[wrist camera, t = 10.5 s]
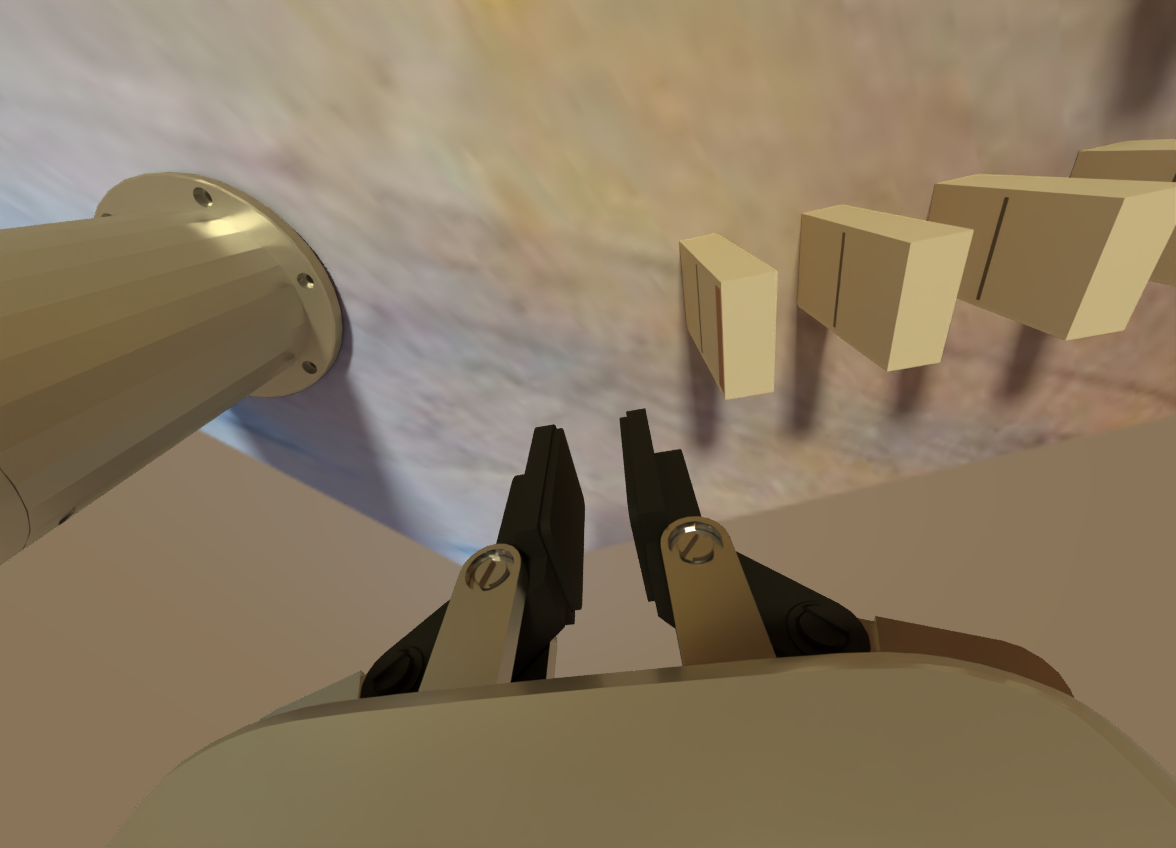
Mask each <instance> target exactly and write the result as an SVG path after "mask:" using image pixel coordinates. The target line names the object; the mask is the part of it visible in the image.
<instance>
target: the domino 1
mask: <svg viewBox="0 0 1176 848" xmlns="http://www.w3.org/2000/svg"><path fill="white" fill-rule="evenodd" d="M679 244H680V255H681V267H682V279H683V291H684V302H685V314H686V326H687V329H688V331H689V333H690V335H691V337H692V339H693V340H694V342H695V344H696V346H697V348H698V350H699V352H700V353H701V355H702V357H703V359H704V361H705V363H706V365H707V367H708V368H709V370H710V372H711V374H712V376H713V378H714V380H715V381H716V383H717V385H718V387H719V389H720V391H721V393H722V394H723V396H724V398H725V400H727V399H733V398H739V397H745V396H751V395H757V394H763V393H769V392H774V365H775V336H776V306H777V276H778V271H777V270H775V269H773V268H772V267H770V266H769V265H767V264H765V263H764V262H762V261H761V260H759V259H757V258H756V257H754V256H753V255H751V254H749V253H748V252H746V251H745V250H743V249H741V248H740V247H738V246H737V245H735V244H733V243H732V242H730V241H729V240H727V239H725V238H724V237H722V236H721V235H719V234H717V233H714V234H709V235H705V236H700V237H696V238H691V239H686V240H682V241H679Z"/></svg>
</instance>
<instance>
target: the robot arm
mask: <svg viewBox="0 0 1176 848" xmlns="http://www.w3.org/2000/svg"><path fill="white" fill-rule="evenodd" d="M342 331H343V328H342V318H341V310H340V306H339V303H338V300H337V296H336V293H335V290H334V288H333V286H332V284H331V282H330V280H329V278H328V275H327V273H326V271H325V269H324V268H323V266H322V265H321V263H320V262H319V260H318V259H317V257H316V256H315V254H314V253H313V252H312V250H311V249H310V247H309V246H308V245H307V244H306V243H305V242H304V241H303V239H302V238H301V237H300V236H299V235H298V234H297V233H296V232H295V231H294V229H293V228H292V227H291V226H290V225H288V224H287V223H286V222H285V221H284V220H283V219H281V218H280V217H279V216H278V215H277V214H276V213H274V212H273V211H272V210H271V209H270V208H268V207H267V206H265V205H263V204H262V203H260V202H259V201H257V200H256V199H254V198H253V197H251V196H250V195H248V194H247V193H245V192H243V191H240V190H238V189H236V188H234V187H232V186H230V185H227V184H225V183H223V182H221V181H218V180H214V179H210V178H207V177H203V176H200V175H196V174H187V173H175V172H165V173H149V174H142V175H139V176H135V177H132V178H128V179H125V180H123V181H122V182H120V183H119V184H117V185H116V186H115V187H113V188H112V189H110V190H109V191H108V192H107V193H106V195H105V196H104V197H103V199H102V200H101V202H100V203H99V204H98V206H97V209H96V212H95V215H94V218H91V219H83V220H75V221H66V222H58V223H50V224H42V225H33V226H25V227H17V228H9V229H0V565H2V564H3V563H4V562H6V561H7V560H9V559H10V558H12V557H13V556H15V555H16V554H18V553H19V552H21V551H22V550H23V549H25V548H26V547H28V546H29V545H31V544H32V543H34V542H35V541H37V540H38V539H40V538H41V537H43V536H44V535H45V534H47V533H48V532H50V531H51V530H53V529H54V528H56V527H57V526H59V525H60V524H62V523H63V522H65V521H66V520H67V519H69V518H70V517H72V516H73V515H75V514H76V513H78V512H79V511H81V510H82V509H83V508H85V507H86V506H88V505H89V504H91V503H92V502H94V501H95V500H97V499H98V498H99V497H101V496H102V495H104V494H105V493H107V492H108V491H110V490H111V489H113V488H114V487H115V486H117V485H118V484H120V483H121V482H123V481H124V480H126V479H127V478H128V477H130V476H132V475H133V474H134V473H136V472H137V471H139V470H140V469H142V468H143V467H145V466H146V465H147V464H149V463H150V462H152V461H153V460H155V459H156V458H158V457H159V456H161V455H162V454H164V453H165V452H166V451H168V450H169V449H171V448H172V447H174V446H175V445H176V444H178V443H180V442H181V441H183V440H184V439H185V438H187V437H188V436H190V435H191V434H193V433H194V432H196V431H197V430H199V429H200V428H201V427H203V426H204V425H206V424H207V423H209V422H210V421H212V420H213V419H215V418H216V417H217V416H219V415H220V414H222V413H223V412H225V411H226V410H228V409H229V408H231V407H232V406H234V405H235V404H236V403H238V402H239V401H241V400H242V399H244V398H245V397H247V396H251V397H265V398H271V397H281V396H287V395H291V394H294V393H297V392H300V391H302V390H304V389H306V388H307V387H309V386H311V385H312V384H314V383H315V382H316V381H318V380H319V379H320V378H321V377H322V376H323V375H325V374H326V373H327V372H328V370H329V369H330V367H331V366H332V365H333V363H334V362H335V360H336V358H337V355H338V352H339V350H340V347H341V340H342ZM626 414H627V417H622V418H620V428H621V439H622V449H623V460H624V471H625V481H626V492H627V503H628V511H629V518H630V523H631V528H632V532H633V537H634V541H635V546H636V550H637V554H638V559H639V563H640V568H641V572H642V576H643V581H644V585H645V590H646V594H647V599H648V601H649V602H650V601H655V603H656V607H657V612H658V616H659V617H660V618H662V619H663V620H664V621H665V622H667V623H668V624H670V625H671V626H672V627H674V628H675V629H676V634H677V640H678V644H679V650H680V655H681V660H682V666H680V667H669V668H658V669H647V670H636V671H625V672H615V673H605V674H594V675H584V676H573V677H564V678H554V674H555V664H556V652H557V637H556V635H557V634H558V633H559V632H560V631H561V630H562V629H563V628H564V627H565V625H570V624H574V623H575V610H580V609H581V608H582V592H583V557H584V523H585V503H584V498H583V494H582V491H581V487H580V484H579V480H578V477H577V474H576V470H575V467H574V464H573V460H572V457H571V453H570V450H569V447H568V443H567V440H566V437H565V433H564V430H563V429H562V428H559V429H557V428H556V426H555V425H554V424H553V425H548V426H542V427H536V428H535V430H534V434H533V439H532V443H531V448H530V452H529V457H528V461H527V465H526V470H525V474H523V475H517V476H515V477H514V478H513V481H512V484H511V488H510V492H509V496H508V500H507V504H506V508H505V512H504V515H503V519H502V523H501V527H500V531H499V535H498V539H497V543H496V544H494V545H490V546H487V547H485V548H483V549H481V550H479V551H477V552H476V553H475V554H473V555H472V556H471V557H470V558H469V559H468V560H467V561H466V562H465V564H464V565H463V567H462V569H461V571H460V573H459V576H458V579H457V582H456V585H455V587H454V590H453V593H452V596H451V599H450V600H449V601H447V602H446V603H445V604H444V605H442V606H441V607H440V608H439V609H438V610H436V611H435V612H434V613H433V614H432V615H430V616H429V617H428V618H427V619H425V620H424V621H423V622H422V623H421V624H419V625H418V626H417V627H416V628H415V629H413V631H411V632H410V633H409V634H407V635H406V636H405V637H404V638H402V639H401V640H400V641H399V642H398V643H396V644H395V645H394V646H393V647H391V648H390V649H389V650H388V651H387V652H385V653H384V654H383V655H382V656H381V657H380V658H379V659H378V660H377V661H376V662H375V663H374V665H373V666H372V668H371V669H370V670H369V672H368V673H367V674H364V673H363V672H362V671H359V672H356V673H354V674H352V675H350V676H348V677H346V678H343V679H341V680H339V681H337V682H335V683H332V684H330V685H328V686H326V687H324V688H322V689H319V690H317V691H315V692H313V693H311V694H309V695H306V696H304V697H302V698H300V699H298V700H296V701H293V702H291V703H289V704H287V705H285V706H282V707H280V708H278V709H276V710H274V711H272V712H271V713H269V714H267V715H266V716H264V717H263V718H261V719H260V720H259V721H257V722H255V723H252V724H249V725H247V726H244V727H242V728H241V729H238V730H236V731H234V732H232V733H230V734H228V735H226V736H224V737H222V738H220V739H218V740H216V741H214V742H212V743H210V744H209V745H207V746H205V747H204V748H202V749H200V750H199V751H197V752H195V753H194V754H193V755H191V756H190V757H188V758H187V759H185V760H184V761H182V762H181V763H180V764H178V765H177V766H176V767H175V768H174V769H172V770H171V771H170V772H169V773H167V774H166V775H165V776H164V777H163V778H162V779H161V780H160V781H159V782H158V783H157V784H156V785H155V786H154V787H153V788H152V789H151V790H150V791H149V793H148V794H147V795H146V796H145V797H144V798H143V800H142V801H141V802H140V803H139V804H138V806H136V807H135V809H134V810H133V811H132V812H131V814H130V815H129V816H128V817H127V819H126V820H125V821H124V822H123V823H122V825H121V826H120V827H119V829H118V830H117V831H116V833H115V834H114V835H113V836H112V838H111V839H110V840H109V842H108V843H107V844H106V845H105V847H104V848H1176V777H1175V776H1174V775H1173V774H1172V773H1170V771H1168V770H1167V769H1166V768H1165V767H1164V766H1163V765H1162V764H1161V763H1160V762H1158V761H1157V760H1156V759H1155V758H1154V757H1153V756H1152V755H1151V754H1150V753H1149V752H1147V751H1146V750H1145V749H1144V748H1143V747H1142V746H1140V745H1139V744H1138V743H1137V742H1136V741H1134V740H1133V739H1132V738H1131V737H1130V736H1128V735H1127V734H1126V733H1125V732H1123V731H1122V730H1121V729H1120V728H1119V727H1117V726H1116V725H1115V724H1113V723H1112V722H1111V721H1109V720H1108V719H1106V718H1105V717H1103V716H1102V715H1100V714H1099V713H1098V712H1096V711H1094V710H1093V709H1092V708H1090V707H1089V706H1087V705H1085V704H1084V703H1082V702H1080V701H1078V700H1077V699H1075V698H1074V696H1073V694H1072V692H1071V689H1070V688H1069V687H1068V685H1067V684H1066V683H1065V681H1064V679H1063V678H1062V677H1061V675H1060V674H1059V672H1057V671H1056V670H1055V669H1054V668H1053V667H1052V666H1050V665H1049V664H1048V663H1047V662H1046V661H1045V660H1043V659H1042V658H1040V657H1039V656H1037V655H1035V654H1033V653H1032V652H1030V651H1028V650H1026V649H1025V648H1023V647H1021V646H1017V645H1014V644H1011V643H1008V642H1005V641H1002V640H996V639H991V638H986V637H981V636H976V635H971V634H966V633H960V632H955V631H950V630H945V629H940V628H934V627H929V626H925V625H919V624H914V623H909V622H904V621H898V620H894V619H888V618H883V617H878V616H875V619H874V621H870V620H865V619H860V618H857V617H856V616H855V615H854V614H853V613H852V612H851V611H849V610H848V609H846V608H845V607H843V606H842V605H840V604H839V603H837V602H835V601H833V600H831V599H829V598H827V597H825V596H823V595H821V594H819V593H817V592H815V591H813V590H811V589H809V588H807V587H805V586H803V585H801V584H799V583H797V582H795V581H793V580H792V579H790V578H788V577H786V576H784V575H782V574H780V573H778V572H776V571H774V570H772V569H770V568H768V567H766V566H764V565H762V564H760V563H758V562H756V561H754V560H752V559H750V558H748V557H746V556H744V555H742V554H740V553H738V552H736V551H735V548H734V546H733V544H732V541H731V538H730V536H729V534H728V532H727V531H726V529H725V528H724V527H723V526H721V525H720V524H719V523H718V522H716V521H713V520H711V519H709V518H705V517H701V514H700V510H699V507H698V504H697V500H696V497H695V494H694V490H693V487H692V483H691V480H690V477H689V473H688V470H687V467H686V463H685V460H684V456H683V453H682V450H681V449H677V450H671V451H665V452H659V453H654V450H653V445H652V440H651V435H650V430H649V425H648V420H647V415H646V410H645V408H644V409H638V410H633V411H627V412H626Z"/></svg>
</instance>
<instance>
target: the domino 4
mask: <svg viewBox="0 0 1176 848" xmlns="http://www.w3.org/2000/svg"><path fill="white" fill-rule="evenodd" d="M1070 178H1088V179H1111V180H1134V181H1158V182H1176V139H1162V140H1131V141H1122V142H1118V143H1113V144H1109V145H1104V146H1100V147H1095V148H1091V149H1087V150H1082V151H1079V153H1078V156H1077V159H1076V162H1075V165H1074V168H1073V171H1072V173H1071V176H1070ZM1148 281H1152V282H1157V283H1161V284H1166V285H1170V286H1175V287H1176V225H1175V227H1174V229H1173V231H1172V234H1171V236H1170V238H1169V240H1168V242H1167V244H1166V246H1165V248H1164V250H1163V252H1162V254H1161V256H1160V258H1159V260H1158V262H1157V264H1156V266H1155V268H1154V270H1153V272H1152V274H1151V276H1150V278H1149V280H1148Z"/></svg>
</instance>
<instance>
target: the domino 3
mask: <svg viewBox="0 0 1176 848" xmlns="http://www.w3.org/2000/svg"><path fill="white" fill-rule="evenodd" d="M928 221H931V222H936V223H941V224H946V225H952V226H957V227H962V228H967V229H973V230H974V232H973V236H972V240H971V244H970V247H969V251H968V255H967V259H966V263H965V267H964V271H963V275H962V279H961V282H960V286H959V290H958V294H957V299H960V300H962V301H965V302H968V303H970V304H973V305H975V306H978V307H980V308H983V309H986V310H988V311H991V312H993V313H996V314H998V315H1001V316H1004V317H1006V318H1009V319H1011V320H1014V321H1016V322H1019V323H1021V324H1024V325H1027V326H1029V327H1032V328H1034V329H1037V330H1039V331H1042V332H1045V333H1047V334H1050V335H1052V336H1055V337H1057V338H1060V339H1063V340H1065V341H1066V340H1071V339H1077V338H1083V337H1089V336H1094V335H1100V334H1106V333H1112V332H1117V331H1123V330H1124V329H1125V327H1126V325H1127V323H1128V321H1129V319H1130V317H1131V315H1132V313H1133V311H1134V309H1135V307H1136V305H1137V303H1138V301H1139V299H1140V297H1141V294H1142V292H1143V290H1144V288H1145V286H1146V284H1147V282H1148V280H1149V278H1150V276H1151V274H1152V272H1153V270H1154V268H1155V266H1156V264H1157V262H1158V260H1159V258H1160V256H1161V254H1162V252H1163V250H1164V248H1165V246H1166V244H1167V242H1168V240H1169V238H1170V236H1171V234H1172V231H1173V229H1174V227H1175V225H1176V182H1158V181H1134V180H1111V179H1088V178H1064V177H1041V176H1017V175H994V174H975V175H971V176H966V177H962V178H958V179H953V180H949V181H944V182H940V183H935V187H934V192H933V197H932V202H931V207H930V212H929V217H928Z"/></svg>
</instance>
